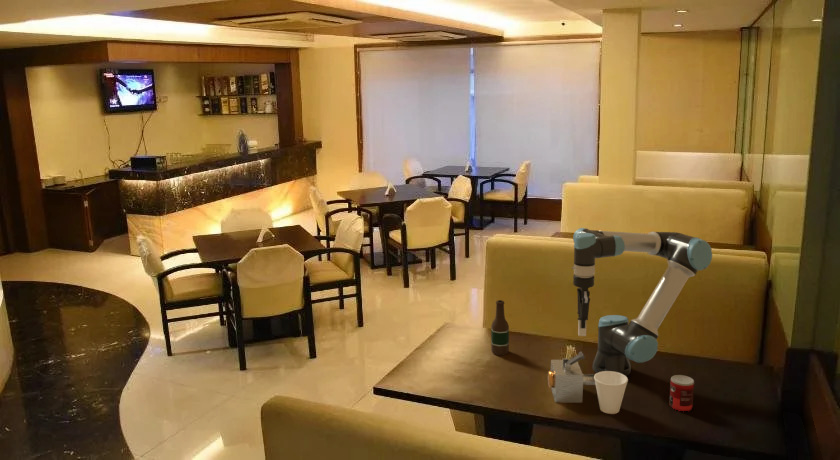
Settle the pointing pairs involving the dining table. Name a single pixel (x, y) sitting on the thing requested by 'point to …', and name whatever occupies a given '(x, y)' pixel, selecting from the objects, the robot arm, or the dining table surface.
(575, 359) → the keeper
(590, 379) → the pin
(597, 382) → the cup
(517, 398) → the dining table surface
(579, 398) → the hitch block
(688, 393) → the canned food
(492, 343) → the beer bottle
